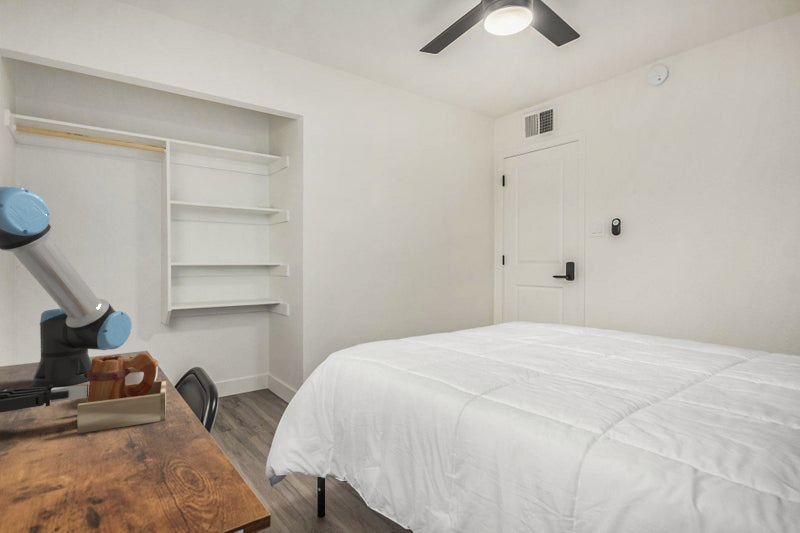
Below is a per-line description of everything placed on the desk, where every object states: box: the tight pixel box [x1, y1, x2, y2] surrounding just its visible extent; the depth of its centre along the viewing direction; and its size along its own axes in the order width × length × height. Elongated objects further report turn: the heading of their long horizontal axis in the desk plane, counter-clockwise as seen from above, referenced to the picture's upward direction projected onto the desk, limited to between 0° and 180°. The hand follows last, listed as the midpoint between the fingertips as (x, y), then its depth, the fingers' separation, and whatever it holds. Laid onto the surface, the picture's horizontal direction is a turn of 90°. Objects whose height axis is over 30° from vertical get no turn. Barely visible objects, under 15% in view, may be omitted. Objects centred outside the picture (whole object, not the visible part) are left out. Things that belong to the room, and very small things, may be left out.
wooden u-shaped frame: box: [77, 379, 167, 434], centre depth 101 cm, size 15×16×6 cm
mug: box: [84, 352, 157, 403], centre depth 101 cm, size 15×8×15 cm, turn 117°
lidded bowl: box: [125, 355, 159, 384], centre depth 117 cm, size 13×13×11 cm
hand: (87, 390), depth 97 cm, fingers closed
